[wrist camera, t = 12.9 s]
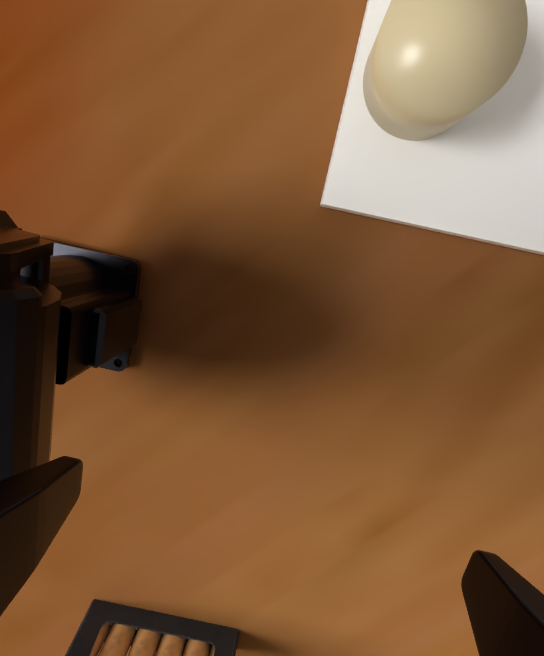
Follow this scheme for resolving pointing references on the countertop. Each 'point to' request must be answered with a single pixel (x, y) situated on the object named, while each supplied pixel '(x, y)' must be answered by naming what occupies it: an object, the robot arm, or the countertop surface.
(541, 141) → the carrier plate
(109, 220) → the countertop surface
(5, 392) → the robot arm
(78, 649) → the ammunition clip
